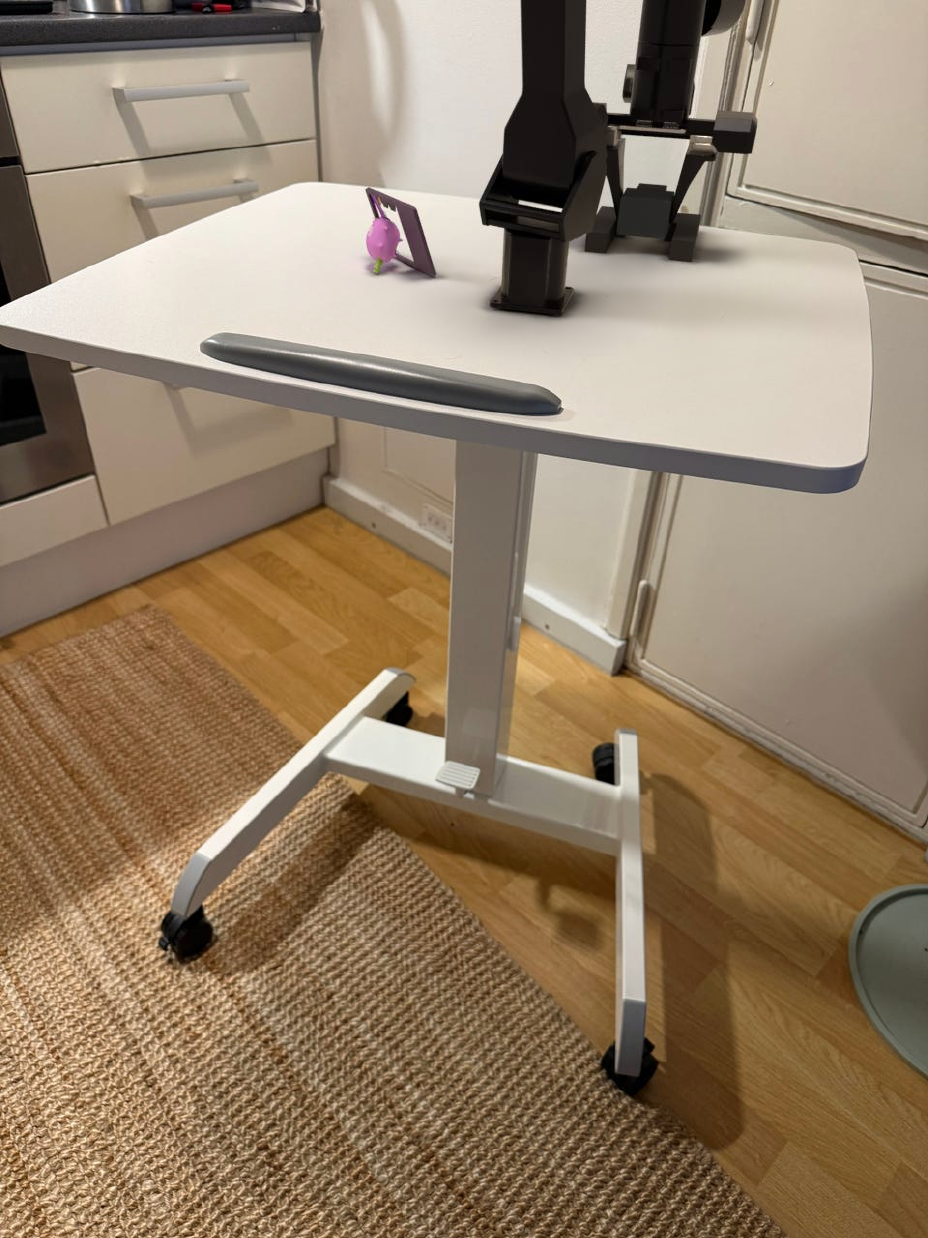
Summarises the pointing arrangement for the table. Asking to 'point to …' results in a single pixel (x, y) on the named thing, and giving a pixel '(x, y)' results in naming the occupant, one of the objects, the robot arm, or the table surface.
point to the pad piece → (645, 211)
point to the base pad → (678, 234)
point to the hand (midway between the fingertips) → (644, 220)
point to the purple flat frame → (396, 234)
